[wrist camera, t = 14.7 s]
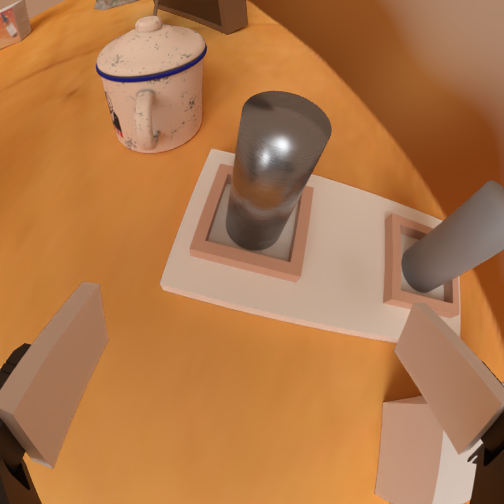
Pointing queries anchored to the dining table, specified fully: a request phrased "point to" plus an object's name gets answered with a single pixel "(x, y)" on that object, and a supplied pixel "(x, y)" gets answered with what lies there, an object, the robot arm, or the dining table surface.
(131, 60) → the teacup with lid
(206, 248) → the pegboard
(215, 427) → the dining table surface
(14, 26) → the small box
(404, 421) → the block
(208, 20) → the photo frame
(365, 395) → the dining table surface
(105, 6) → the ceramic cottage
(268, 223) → the peg
